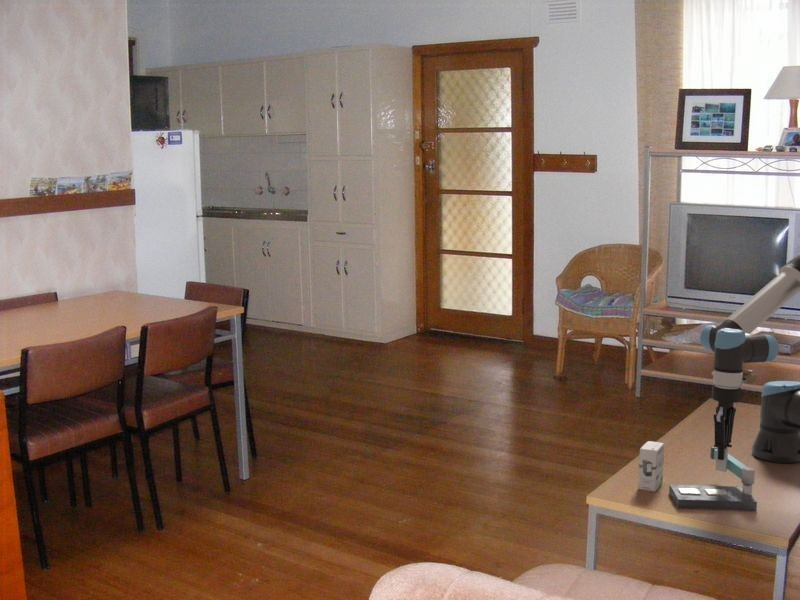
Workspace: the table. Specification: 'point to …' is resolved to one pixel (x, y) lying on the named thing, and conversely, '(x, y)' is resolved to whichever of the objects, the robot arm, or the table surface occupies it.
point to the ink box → (651, 466)
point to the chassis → (713, 497)
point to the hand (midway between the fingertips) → (721, 470)
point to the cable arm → (737, 468)
